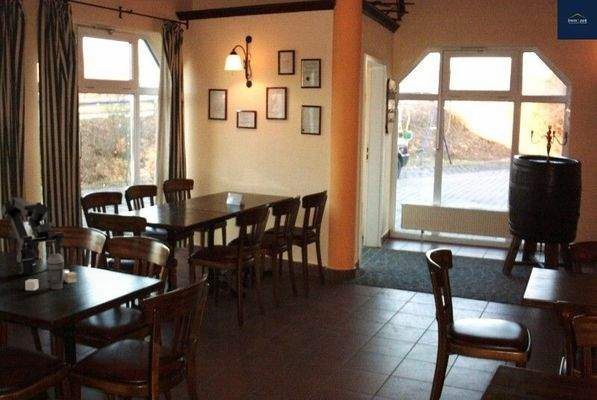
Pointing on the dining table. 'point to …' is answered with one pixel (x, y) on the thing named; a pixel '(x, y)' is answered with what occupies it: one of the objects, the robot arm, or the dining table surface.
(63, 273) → the metal tin
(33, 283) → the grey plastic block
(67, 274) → the birch block
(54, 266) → the beverage cup
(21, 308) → the dining table surface
